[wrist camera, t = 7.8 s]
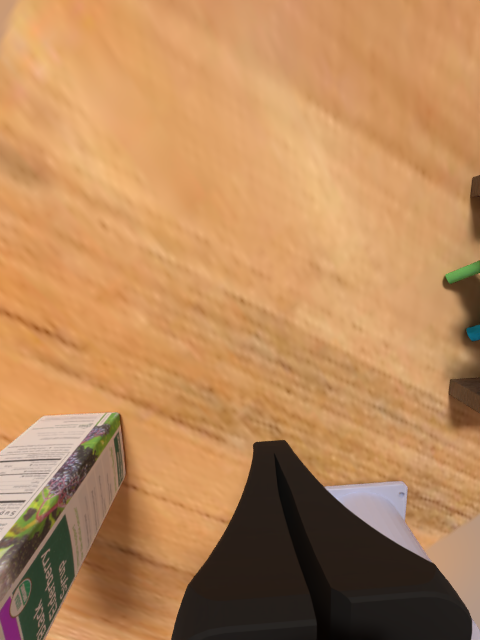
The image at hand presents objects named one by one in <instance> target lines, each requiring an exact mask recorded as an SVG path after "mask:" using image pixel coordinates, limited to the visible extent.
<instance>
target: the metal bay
mask: <svg viewBox="0 0 480 640" xmlns="http://www.w3.org/2000/svg"><path fill="white" fill-rule="evenodd" d="M471 197H480V175H479V176H476V177H473V181H472V190H471ZM449 394H450V395H451V396H453V397H454V398H456V399H458V400H459V401H461V402H462V403H464V404H466V405H467V406H469V407H470V408H472V409H474V410H475V411H477V412H478V413H480V378H466V379H451V380H450V388H449Z"/></svg>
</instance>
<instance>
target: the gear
mask: <svg viewBox="0 0 480 640" xmlns="http://www.w3.org/2000/svg"><path fill="white" fill-rule="evenodd" d="M478 273H480V261H477V262H475V263H472V264H470V265H468V266H465V267H463V268H460V269H458V270H455V271H453V272H450V273H448V274H446V279H447V281H448V282H449V283H450V284H452V283H454V282H457V281H460V280H462V279H465V278H467V277H470V276H473V275H475V274H478ZM466 330H467V334H468V336H469V338H470V340H471V341H476V340H480V325H476V326H472V327H469V328H467V329H466Z"/></svg>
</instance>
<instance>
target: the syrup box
mask: <svg viewBox="0 0 480 640" xmlns="http://www.w3.org/2000/svg"><path fill="white" fill-rule="evenodd" d="M125 475H126V471H125V463H124V450H123V441H122V433H121V425H120V416H119V413H117V412H114V413H88V414H67V415H48V416H43V417H41V418H40V419H39V420H38V421H36V422H35V423H34V424H33V425H32V426H30V427H29V428H28V429H27V430H26V431H25V432H24V433H22V434H21V435H20V436H19V437H18V438H16V439H15V440H14V441H13V442H12V443H10V444H9V445H8V446H7V447H5V448H4V449H3V450H2V451H1V452H0V640H45V638H46V636H47V634H48V632H49V630H50V628H51V626H52V624H53V622H54V620H55V618H56V616H57V614H58V612H59V610H60V608H61V606H62V604H63V602H64V600H65V598H66V596H67V594H68V592H69V590H70V588H71V586H72V584H73V582H74V580H75V578H76V576H77V574H78V572H79V570H80V567H81V565H82V563H83V561H84V559H85V557H86V555H87V553H88V551H89V549H90V547H91V545H92V543H93V541H94V539H95V537H96V535H97V533H98V531H99V529H100V527H101V525H102V523H103V521H104V519H105V517H106V515H107V513H108V511H109V509H110V507H111V505H112V502H113V500H114V498H115V496H116V494H117V492H118V490H119V488H120V486H121V484H122V482H123V480H124V478H125Z"/></svg>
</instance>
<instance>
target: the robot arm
mask: <svg viewBox="0 0 480 640" xmlns="http://www.w3.org/2000/svg"><path fill="white" fill-rule="evenodd" d="M399 493H400V494H399ZM406 501H407V486H406V485H405V483H404V482H402V481H395V482H382V483H368V484H354V485H341V486H327V487H324V486H323V485H322V484H321V483H320V482H319V481H318V480H317V479H316V478H315V477H314V476H313V475H312V474H311V472H310V471H309V470H308V469H307V468H306V467H305V466H304V464H303V463H302V462H301V461H300V459H299V458H298V457H297V456H296V454H295V453H294V452H293V450H292V449H291V447H290V446H289V445H288V443H287V442H286V441H285V440H279V441H265V442H255V443H254V444H253V459H252V464H251V468H250V472H249V476H248V480H247V483H246V485H245V488H244V491H243V494H242V497H241V499H240V502H239V504H238V506H237V509H236V511H235V513H234V515H233V517H232V519H231V521H230V523H229V525H228V527H227V529H226V530H225V532H224V534H223V536H222V537H221V539H220V541H219V542H218V544H217V545H216V547H215V548H214V550H213V552H212V553H211V555H210V556H209V558H208V559H207V561H206V562H205V563H204V565H203V566H202V567H201V569H200V570H199V571H198V573H197V574H196V575H195V576H194V578H193V579H192V580H191V582H190V583H189V584H188V586H187V589H186V592H185V594H184V597H183V600H182V603H181V606H180V609H179V612H178V615H177V618H176V622H175V625H174V630H173V634H172V638H171V640H480V630H479V628H478V627H477V625H476V624H475V622H474V621H473V619H472V618H471V616H470V613H469V611H468V609H467V607H466V606H465V604H464V603H463V602H462V600H461V599H460V597H459V596H458V594H457V593H456V591H455V590H454V588H453V587H452V586H451V584H450V583H449V582H448V580H447V579H446V578H445V577H444V575H443V574H442V573H441V572H440V571H439V569H438V568H437V567H436V565H435V564H434V563H432V562H431V560H430V559H429V558H428V556H427V555H426V553H425V551H424V550H423V548H422V547H421V545H420V544H419V542H418V541H417V539H416V538H415V536H414V535H413V533H412V532H411V530H410V529H409V527H408V526H407V524H406V523H405V513H406Z"/></svg>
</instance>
